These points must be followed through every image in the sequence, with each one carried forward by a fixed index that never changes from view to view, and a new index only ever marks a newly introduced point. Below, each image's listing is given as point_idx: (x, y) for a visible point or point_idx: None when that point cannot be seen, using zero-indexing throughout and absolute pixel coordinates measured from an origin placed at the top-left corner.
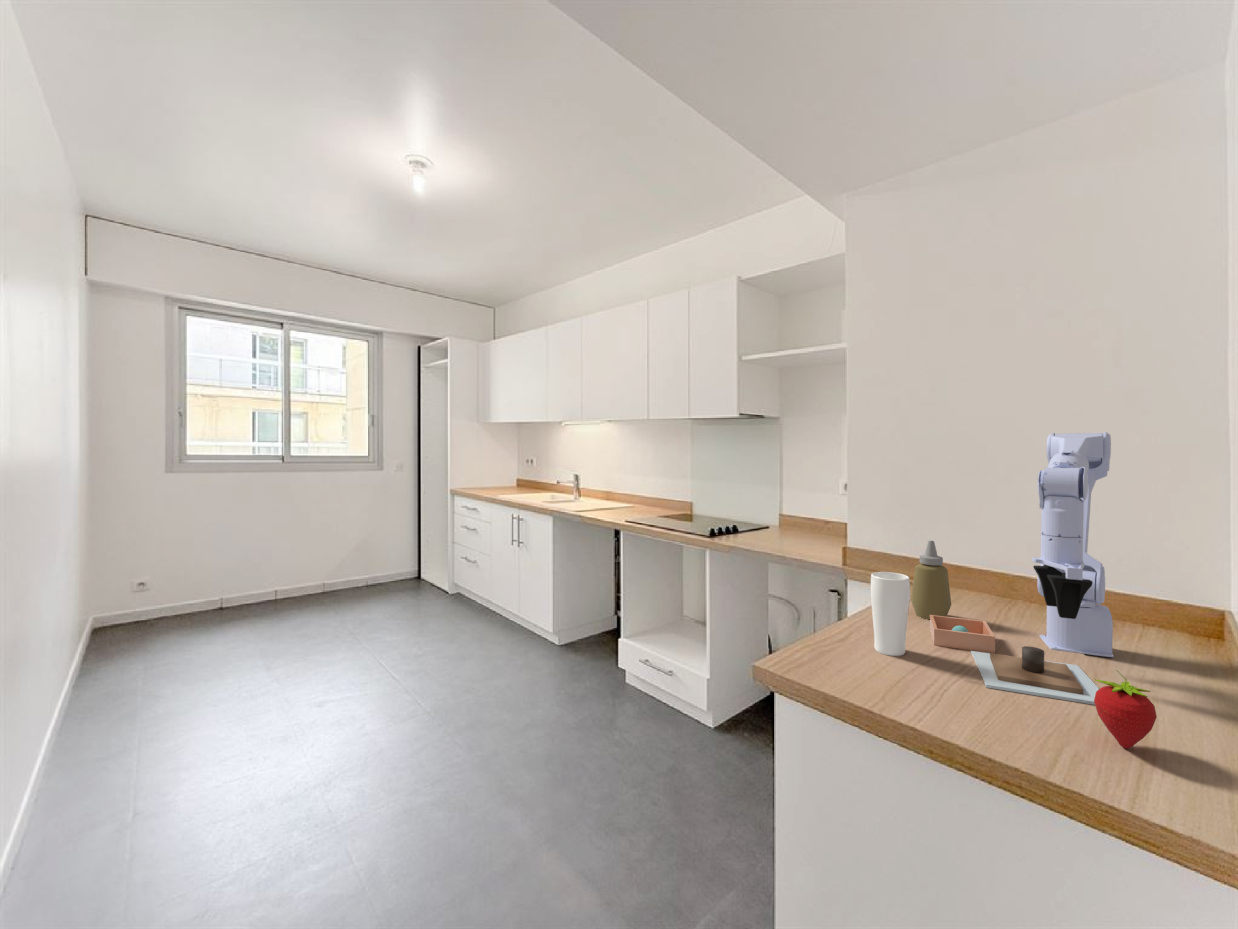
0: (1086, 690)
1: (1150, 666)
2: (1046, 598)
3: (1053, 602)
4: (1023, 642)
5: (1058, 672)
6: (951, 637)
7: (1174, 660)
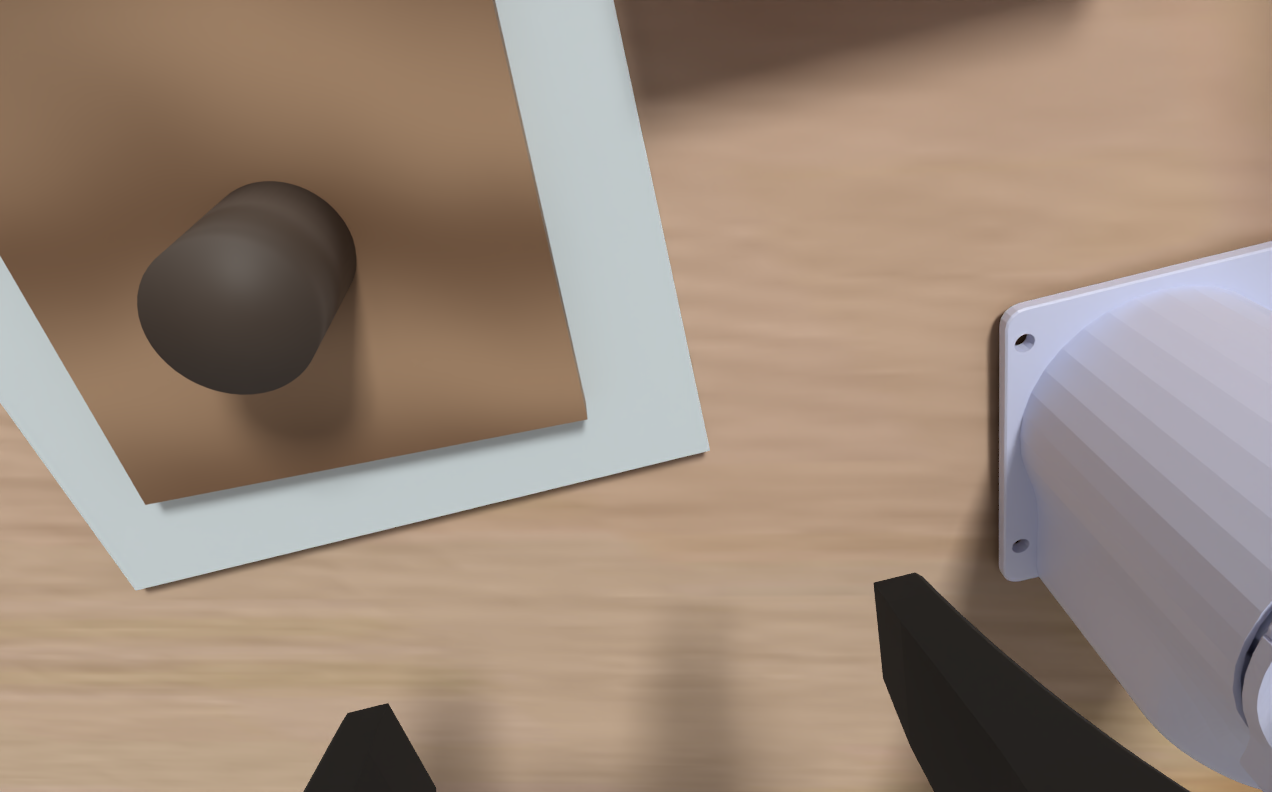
0: (251, 496)
1: None
2: (915, 645)
3: (896, 664)
4: (1128, 136)
5: (368, 389)
6: None
7: None
